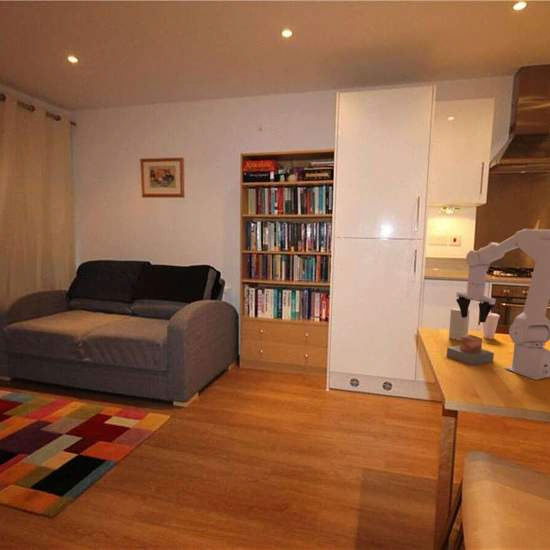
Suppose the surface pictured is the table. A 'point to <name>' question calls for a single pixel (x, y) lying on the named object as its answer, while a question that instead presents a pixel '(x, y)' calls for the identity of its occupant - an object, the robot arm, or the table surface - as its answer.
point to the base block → (470, 355)
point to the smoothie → (490, 325)
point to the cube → (471, 343)
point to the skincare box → (458, 324)
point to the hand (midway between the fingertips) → (473, 319)
